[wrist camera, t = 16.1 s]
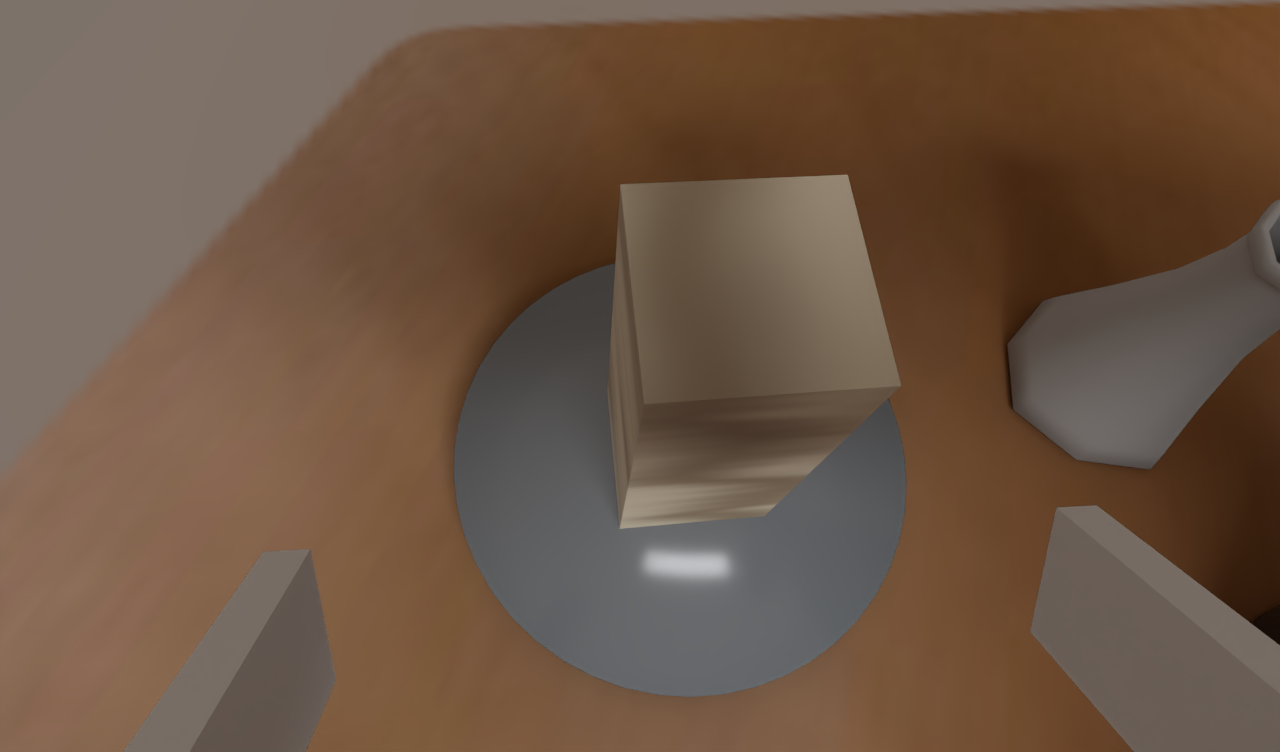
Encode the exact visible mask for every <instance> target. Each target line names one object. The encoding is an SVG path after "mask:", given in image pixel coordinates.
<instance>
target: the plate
mask: <svg viewBox="0 0 1280 752" xmlns="http://www.w3.org/2000/svg"><path fill="white" fill-rule="evenodd" d="M614 279H615V263H614V264H611V265H607V266H603V267H600V268H597V269H594V270H592V271H589V272H587V273H584V274H582V275H579V276H577V277H575V278H573V279H571V280H569V281H567V282H565V283H564V284H562V285H560V286H558V287H556V288H554V289H553V290H551V291H550V292H548V293H547V294H545V295H544V296H543V297H541V298H540V299H538V300H537V301H536V302H534V303H533V304H531V305H530V306H529V307H528V308H527V309H526V310H525V311H524V312H523V313H522V314H520V315H519V316H518V317H517V318H516V319H515V320H514V321H513V322H512V323H511V324H510V325H509V326H508V328H507V329H506V330H505V331H504V332H503V333H502V335H501V336H500V337H499V338H498V339H497V341H496V342H495V343H494V344H493V346H492V348H491V349H490V351H489V352H488V354H487V355H486V357H485V359H484V360H483V362H482V363H481V365H480V366H479V368H478V371H477V373H476V375H475V377H474V379H473V381H472V383H471V386H470V388H469V390H468V392H467V396H466V399H465V402H464V405H463V408H462V412H461V415H460V418H459V424H458V430H457V436H456V442H455V452H454V483H455V492H456V501H457V508H458V512H459V516H460V520H461V523H462V527H463V531H464V535H465V538H466V540H467V543H468V545H469V548H470V550H471V553H472V555H473V558H474V560H475V563H476V565H477V567H478V568H479V570H480V572H481V574H482V575H483V577H484V579H485V580H486V582H487V584H488V586H489V587H490V589H491V591H492V592H493V594H494V595H495V596H496V598H497V599H498V600H499V601H500V603H501V604H502V605H503V607H504V608H505V609H506V610H507V612H508V613H509V614H510V615H511V617H512V618H513V619H514V620H515V621H516V622H517V623H518V624H519V625H520V626H521V627H522V628H523V629H524V630H525V631H526V632H527V633H529V634H530V635H531V636H532V637H533V638H534V639H535V640H536V641H537V642H538V643H540V644H541V645H542V646H544V647H545V648H546V649H548V650H549V651H551V652H552V653H553V654H555V655H556V656H557V657H559V658H560V659H562V660H563V661H564V662H566V663H568V664H570V665H572V666H574V667H576V668H578V669H579V670H581V671H583V672H585V673H587V674H589V675H591V676H593V677H595V678H598V679H601V680H604V681H606V682H609V683H612V684H614V685H617V686H620V687H623V688H628V689H632V690H637V691H642V692H646V693H651V694H656V695H670V696H685V697H695V696H708V695H721V694H727V693H731V692H736V691H740V690H745V689H749V688H754V687H757V686H760V685H762V684H765V683H767V682H770V681H772V680H775V679H778V678H780V677H783V676H785V675H787V674H789V673H791V672H793V671H794V670H796V669H798V668H800V667H801V666H803V665H805V664H807V663H808V662H810V661H812V660H814V659H815V658H816V657H817V656H819V655H820V654H821V653H823V652H824V651H825V650H826V649H828V648H829V647H830V646H832V645H833V644H834V643H835V642H837V641H838V640H839V639H840V638H841V637H842V636H843V635H844V634H845V633H846V631H847V630H848V629H849V628H850V627H851V626H852V625H853V624H854V623H855V622H856V621H857V620H858V619H859V618H860V616H861V615H862V613H863V612H864V611H865V609H866V608H867V606H868V605H869V604H870V602H871V601H872V599H873V598H874V596H875V595H876V594H877V592H878V590H879V588H880V586H881V584H882V582H883V580H884V578H885V576H886V574H887V572H888V570H889V568H890V566H891V563H892V560H893V557H894V554H895V551H896V548H897V545H898V542H899V539H900V534H901V529H902V523H903V518H904V513H905V500H906V471H905V459H904V451H903V446H902V442H901V437H900V432H899V428H898V424H897V421H896V418H895V416H894V413H893V410H892V407H891V404H890V401H889V399H887V400H886V401H885V402H884V403H883V404H882V405H880V406H879V407H878V408H877V409H876V410H875V411H874V412H873V413H872V414H871V415H870V416H869V417H868V418H867V419H866V420H865V421H864V422H863V423H862V424H861V425H859V426H858V427H857V428H856V429H855V430H854V431H853V432H852V433H851V434H850V435H849V436H848V437H847V438H846V439H845V440H844V441H843V442H842V443H841V444H840V445H838V446H837V447H836V448H835V449H834V450H833V451H832V452H831V453H830V454H829V455H828V456H827V457H826V458H825V459H824V460H823V461H822V462H821V463H820V464H819V465H817V466H816V467H815V468H814V469H813V470H812V471H811V472H810V473H809V474H808V475H807V476H806V477H805V478H804V479H803V480H802V481H801V482H800V483H799V484H798V485H796V486H795V487H794V488H793V489H792V490H791V491H790V492H789V493H788V494H787V495H786V496H785V497H784V498H783V499H782V500H781V501H780V502H779V503H778V504H777V505H775V506H774V507H773V508H772V509H771V510H770V511H769V512H768V513H767V514H766V515H765V516H760V517H749V518H737V519H726V520H714V521H703V522H692V523H680V524H669V525H658V526H646V527H635V528H624V529H620V527H619V516H618V504H617V493H616V482H615V471H614V459H613V448H612V437H611V426H610V415H609V403H608V392H607V390H608V374H609V358H610V343H611V327H612V311H613V295H614Z"/></svg>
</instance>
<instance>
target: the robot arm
mask: <svg viewBox="0 0 1280 752" xmlns="http://www.w3.org/2000/svg"><path fill="white" fill-rule="evenodd" d="M1030 632H1031V633H1032V635H1033V636H1034V637H1035V638H1036V639H1037V640H1038V642H1039V643H1040V644H1041V645H1042V646H1043V647H1044V648H1045V650H1046V651H1047V652H1048V653H1049V654H1050V655H1051V657H1052V658H1053V659H1054V660H1055V661H1056V662H1057V663H1058V665H1059V666H1060V667H1061V668H1062V669H1063V670H1064V672H1065V673H1066V674H1067V675H1068V676H1069V677H1070V678H1071V680H1072V681H1073V682H1074V683H1075V684H1076V685H1077V687H1078V688H1079V689H1080V690H1081V691H1082V692H1083V693H1084V695H1085V696H1086V697H1087V698H1088V699H1089V700H1090V702H1091V703H1092V704H1093V705H1094V706H1095V707H1096V709H1097V710H1098V711H1099V712H1100V713H1101V714H1102V715H1103V717H1104V718H1105V719H1106V720H1107V721H1108V722H1109V724H1110V725H1111V726H1112V727H1113V728H1114V729H1115V730H1116V732H1117V733H1118V734H1119V735H1120V736H1121V737H1122V739H1123V740H1124V741H1125V742H1126V743H1127V744H1128V745H1129V747H1130V748H1131V749H1132V750H1133V751H1134V752H1280V605H1279V606H1277V607H1275V608H1273V609H1271V610H1269V611H1268V612H1266V613H1265V614H1263V615H1262V616H1260V617H1258V618H1257V619H1256V620H1255V621H1253V622H1252V623H1250V622H1248V621H1247V620H1246V619H1245V618H1243V617H1242V616H1241V615H1239V614H1238V613H1237V612H1235V611H1234V610H1233V609H1231V608H1230V607H1229V606H1228V605H1226V604H1225V603H1224V602H1222V601H1221V600H1220V599H1218V598H1217V597H1216V596H1214V595H1213V594H1212V593H1211V592H1209V591H1208V590H1207V589H1205V588H1204V587H1203V586H1201V585H1200V584H1199V583H1197V582H1196V581H1195V580H1194V579H1192V578H1191V577H1190V576H1188V575H1187V574H1186V573H1184V572H1183V571H1182V570H1181V569H1179V568H1178V567H1177V566H1175V565H1174V564H1173V563H1171V562H1170V561H1169V560H1167V559H1166V558H1165V557H1164V556H1162V555H1161V554H1160V553H1158V552H1157V551H1156V550H1154V549H1153V548H1152V547H1150V546H1149V545H1148V544H1147V543H1145V542H1144V541H1143V540H1141V539H1140V538H1139V537H1137V536H1136V535H1135V534H1133V533H1132V532H1131V531H1130V530H1128V529H1127V528H1126V527H1124V526H1123V525H1122V524H1120V523H1119V522H1118V521H1116V520H1115V519H1114V518H1113V517H1111V516H1110V515H1109V514H1107V513H1106V512H1105V511H1103V510H1102V509H1101V508H1099V507H1098V506H1097V505H1093V506H1075V507H1057V508H1056V512H1055V517H1054V521H1053V526H1052V531H1051V536H1050V540H1049V545H1048V550H1047V554H1046V559H1045V564H1044V569H1043V573H1042V578H1041V583H1040V587H1039V592H1038V597H1037V602H1036V606H1035V611H1034V616H1033V620H1032V625H1031V630H1030ZM335 681H336V677H335V672H334V667H333V662H332V657H331V651H330V646H329V641H328V636H327V631H326V626H325V621H324V616H323V611H322V606H321V601H320V596H319V590H318V585H317V580H316V575H315V570H314V565H313V560H312V555H311V550H310V549H305V550H287V551H269V552H263V553H262V554H261V556H260V557H259V559H258V560H257V561H256V563H255V564H254V566H253V567H252V569H251V570H250V571H249V573H248V574H247V576H246V577H245V579H244V580H243V581H242V583H241V584H240V586H239V587H238V589H237V590H236V591H235V593H234V594H233V596H232V597H231V599H230V600H229V601H228V603H227V604H226V606H225V607H224V609H223V610H222V611H221V613H220V614H219V616H218V617H217V619H216V620H215V621H214V623H213V624H212V626H211V627H210V629H209V630H208V631H207V633H206V634H205V636H204V637H203V639H202V640H201V641H200V643H199V644H198V646H197V647H196V649H195V650H194V651H193V653H192V654H191V656H190V657H189V659H188V660H187V661H186V663H185V664H184V666H183V667H182V669H181V670H180V672H179V673H178V674H177V676H176V677H175V679H174V680H173V682H172V683H171V684H170V686H169V687H168V689H167V690H166V692H165V693H164V694H163V696H162V697H161V699H160V700H159V702H158V703H157V704H156V706H155V707H154V709H153V710H152V712H151V713H150V714H149V716H148V717H147V719H146V720H145V722H144V723H143V724H142V726H141V727H140V729H139V730H138V732H137V733H136V734H135V736H134V737H133V739H132V740H131V742H130V743H129V744H128V746H127V747H126V749H125V750H124V752H306V750H307V748H308V746H309V743H310V741H311V738H312V736H313V734H314V731H315V729H316V726H317V724H318V722H319V719H320V717H321V714H322V712H323V710H324V707H325V705H326V702H327V700H328V698H329V695H330V693H331V690H332V688H333V686H334V683H335Z"/></svg>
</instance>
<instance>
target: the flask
mask: <svg viewBox="0 0 1280 752" xmlns="http://www.w3.org/2000/svg"><path fill="white" fill-rule="evenodd" d="M1279 329H1280V200H1276V201H1275V202H1273V203H1272V204H1270V205H1269V207H1268V208H1267V209H1266V210H1265V211H1264V213H1263V214H1262V215H1261V217H1260V218H1259V220H1258V221H1257V222H1256V224H1255V225H1254V227H1253V228H1252V229H1251V231H1250V232H1249V233H1247V234H1246V235H1244V236H1243V237H1241V238H1240V239H1238V240H1237V241H1235V242H1234V243H1232V244H1231V245H1229V246H1228V247H1226V248H1224V249H1221V250H1219V251H1217V252H1214V253H1212V254H1210V255H1208V256H1205V257H1203V258H1201V259H1198V260H1196V261H1194V262H1192V263H1189V264H1187V265H1185V266H1182V267H1180V268H1178V269H1174V270H1170V271H1166V272H1162V273H1158V274H1154V275H1150V276H1147V277H1143V278H1139V279H1135V280H1131V281H1127V282H1123V283H1119V284H1115V285H1111V286H1106V287H1101V288H1096V289H1092V290H1087V291H1082V292H1077V293H1072V294H1067V295H1062V296H1058V297H1054V298H1050V299H1046V300H1043V301H1042V303H1041V304H1040V305H1039V306H1038V307H1037V309H1036V310H1035V311H1034V312H1033V313H1032V315H1031V316H1030V317H1029V318H1028V320H1027V321H1026V322H1025V323H1024V324H1023V326H1022V327H1021V328H1020V329H1019V330H1018V332H1017V333H1016V334H1015V335H1014V337H1013V338H1012V339H1011V340H1010V341H1009V343H1008V344H1007V346H1008V357H1009V368H1010V379H1011V390H1012V401H1013V410H1014V411H1015V412H1017V413H1018V414H1019V415H1020V416H1022V417H1023V418H1024V419H1025V420H1027V421H1028V422H1029V423H1030V424H1032V425H1033V426H1034V427H1035V428H1037V429H1038V430H1039V431H1041V432H1042V433H1043V434H1044V435H1046V436H1047V437H1048V438H1049V439H1051V440H1052V441H1053V442H1054V443H1056V444H1057V445H1058V446H1059V447H1061V448H1062V449H1063V450H1065V451H1066V452H1067V453H1068V454H1070V455H1071V456H1072V457H1073V458H1075V459H1076V460H1081V461H1089V462H1096V463H1104V464H1111V465H1119V466H1127V467H1134V468H1142V469H1149V470H1150V469H1151V468H1152V467H1153V466H1154V465H1155V464H1156V462H1157V461H1158V460H1159V459H1160V458H1161V457H1162V455H1163V454H1164V453H1165V452H1166V450H1167V449H1168V448H1169V447H1170V445H1171V444H1172V443H1173V441H1174V440H1175V439H1176V438H1177V436H1178V435H1179V434H1180V432H1181V431H1182V430H1183V429H1184V427H1185V426H1186V425H1187V423H1188V422H1189V421H1190V420H1191V418H1192V417H1193V416H1194V414H1195V413H1196V412H1197V411H1198V410H1199V408H1200V407H1201V406H1202V405H1203V404H1204V403H1205V401H1206V400H1207V399H1208V398H1209V397H1210V396H1211V394H1212V393H1213V392H1214V391H1215V390H1216V389H1217V388H1218V386H1219V385H1220V384H1221V383H1222V382H1223V381H1224V379H1225V378H1226V377H1227V376H1228V375H1229V374H1230V372H1231V371H1232V370H1233V369H1234V368H1235V367H1236V366H1237V364H1238V363H1239V362H1240V361H1241V360H1242V359H1243V358H1244V357H1245V356H1246V355H1248V354H1249V353H1250V352H1251V351H1253V350H1254V349H1255V348H1256V347H1258V346H1259V345H1260V344H1261V343H1263V342H1264V341H1265V340H1266V339H1268V338H1269V337H1270V336H1271V335H1273V334H1274V333H1275V332H1276V331H1278V330H1279Z"/></svg>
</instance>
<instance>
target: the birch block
mask: <svg viewBox="0 0 1280 752" xmlns="http://www.w3.org/2000/svg"><path fill="white" fill-rule="evenodd" d="M900 386H901V383H900V379H899V375H898V371H897V367H896V363H895V359H894V356H893V352H892V348H891V344H890V340H889V336H888V332H887V328H886V324H885V320H884V316H883V312H882V308H881V304H880V300H879V296H878V293H877V289H876V285H875V281H874V277H873V273H872V269H871V265H870V261H869V257H868V253H867V249H866V245H865V241H864V237H863V233H862V229H861V226H860V222H859V218H858V214H857V210H856V206H855V202H854V198H853V194H852V190H851V186H850V182H849V178H848V175H829V176H805V177H781V178H757V179H733V180H710V181H686V182H662V183H638V184H620V199H619V215H618V231H617V247H616V263H615V279H614V295H613V311H612V327H611V343H610V358H609V374H608V390H607V392H608V403H609V415H610V426H611V437H612V448H613V459H614V471H615V482H616V493H617V504H618V516H619V527H620V529H624V528H635V527H646V526H658V525H669V524H680V523H692V522H703V521H714V520H726V519H737V518H749V517H760V516H765V515H766V514H767V513H768V512H769V511H770V510H771V509H772V508H773V507H774V506H775V505H777V504H778V503H779V502H780V501H781V500H782V499H783V498H784V497H785V496H786V495H787V494H788V493H789V492H790V491H791V490H792V489H793V488H794V487H795V486H796V485H798V484H799V483H800V482H801V481H802V480H803V479H804V478H805V477H806V476H807V475H808V474H809V473H810V472H811V471H812V470H813V469H814V468H815V467H816V466H817V465H819V464H820V463H821V462H822V461H823V460H824V459H825V458H826V457H827V456H828V455H829V454H830V453H831V452H832V451H833V450H834V449H835V448H836V447H837V446H838V445H840V444H841V443H842V442H843V441H844V440H845V439H846V438H847V437H848V436H849V435H850V434H851V433H852V432H853V431H854V430H855V429H856V428H857V427H858V426H859V425H861V424H862V423H863V422H864V421H865V420H866V419H867V418H868V417H869V416H870V415H871V414H872V413H873V412H874V411H875V410H876V409H877V408H878V407H879V406H880V405H882V404H883V403H884V402H885V401H886V400H887V399H888V398H889V397H890V396H891V395H892V394H893V393H894V392H895V391H896V390H897V389H898V388H899V387H900Z"/></svg>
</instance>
